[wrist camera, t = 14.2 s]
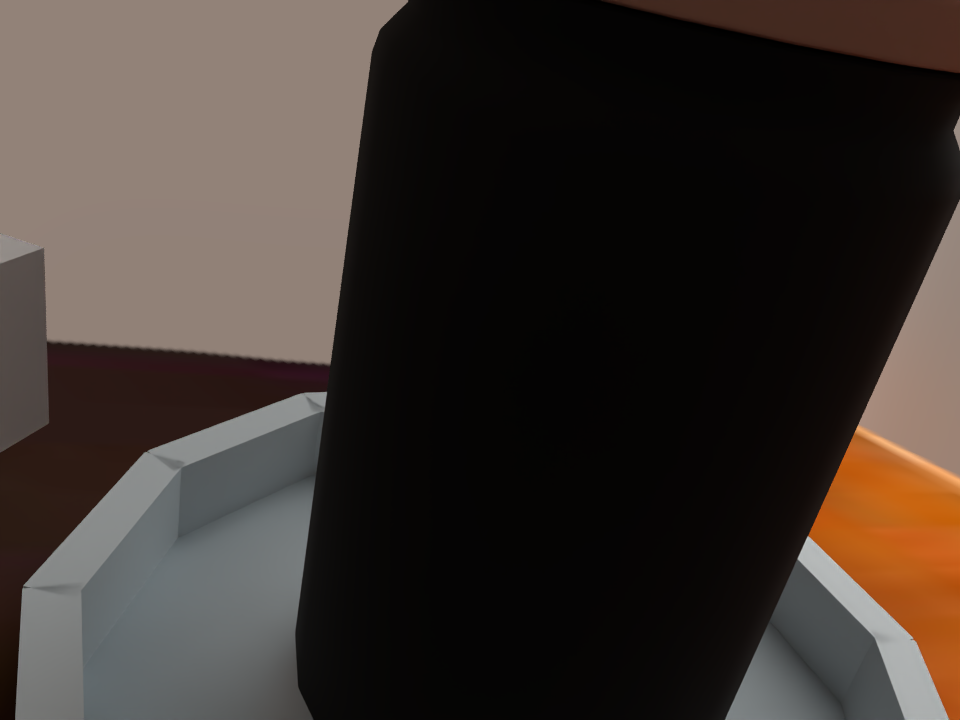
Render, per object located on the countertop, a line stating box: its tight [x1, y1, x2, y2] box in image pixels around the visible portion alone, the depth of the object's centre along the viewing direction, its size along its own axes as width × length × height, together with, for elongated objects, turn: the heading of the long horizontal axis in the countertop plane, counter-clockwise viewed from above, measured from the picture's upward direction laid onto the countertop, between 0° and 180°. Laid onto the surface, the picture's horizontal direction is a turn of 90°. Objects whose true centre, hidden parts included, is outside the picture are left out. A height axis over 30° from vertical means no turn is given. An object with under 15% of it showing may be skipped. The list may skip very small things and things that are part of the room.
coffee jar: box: [295, 0, 960, 720], centre depth 19 cm, size 11×11×18 cm
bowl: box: [15, 392, 949, 720], centre depth 23 cm, size 22×22×4 cm
